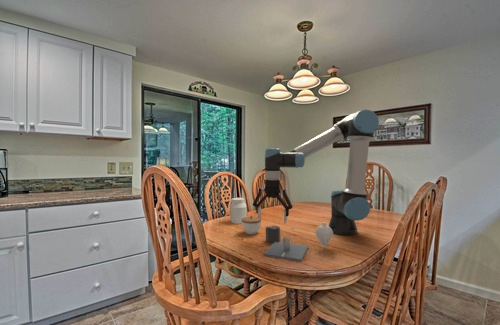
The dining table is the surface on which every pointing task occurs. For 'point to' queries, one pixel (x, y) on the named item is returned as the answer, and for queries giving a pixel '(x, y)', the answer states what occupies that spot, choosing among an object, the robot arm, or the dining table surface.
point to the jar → (237, 210)
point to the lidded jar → (251, 224)
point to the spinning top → (324, 234)
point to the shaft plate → (286, 250)
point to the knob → (272, 234)
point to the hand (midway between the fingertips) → (272, 221)
